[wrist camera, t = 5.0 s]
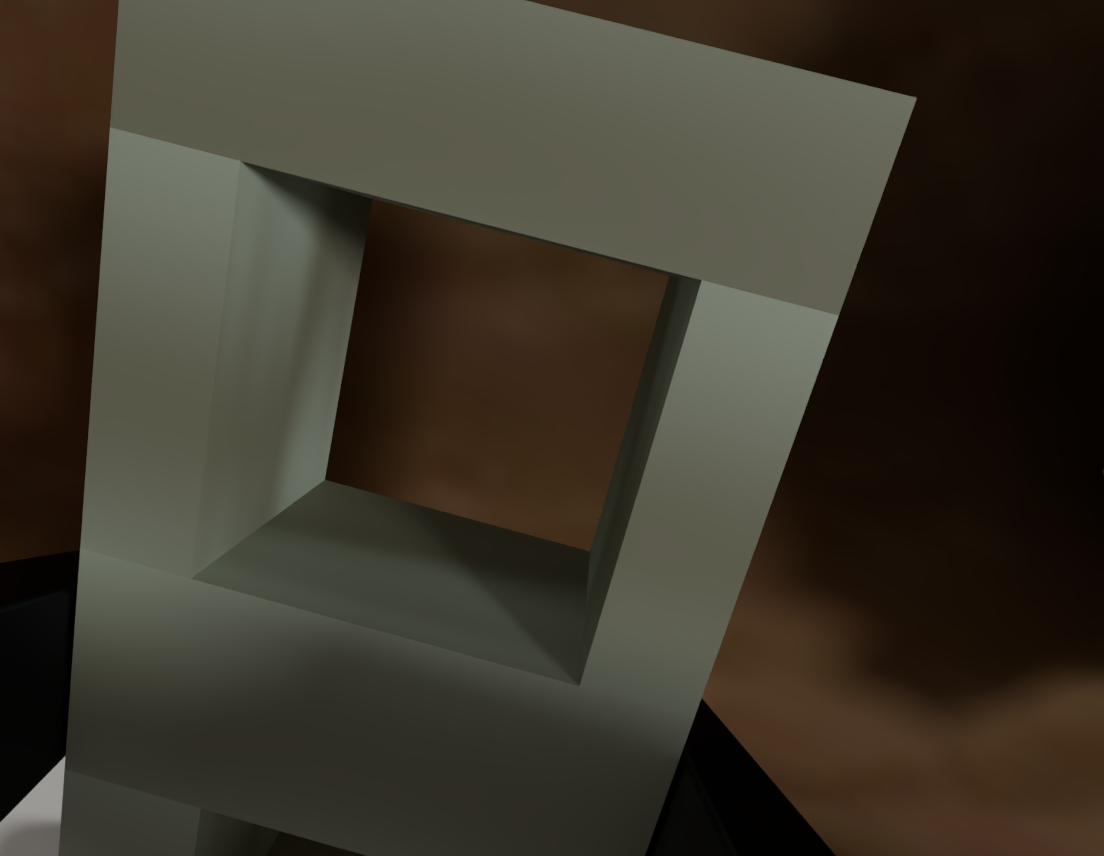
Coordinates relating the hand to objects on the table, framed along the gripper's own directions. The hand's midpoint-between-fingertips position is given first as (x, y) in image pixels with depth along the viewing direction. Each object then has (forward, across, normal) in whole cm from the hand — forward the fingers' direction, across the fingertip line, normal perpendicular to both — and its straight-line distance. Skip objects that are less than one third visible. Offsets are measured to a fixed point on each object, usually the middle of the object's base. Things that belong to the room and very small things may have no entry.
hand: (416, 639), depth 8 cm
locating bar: (+1, 0, -1) cm, 1 cm away
